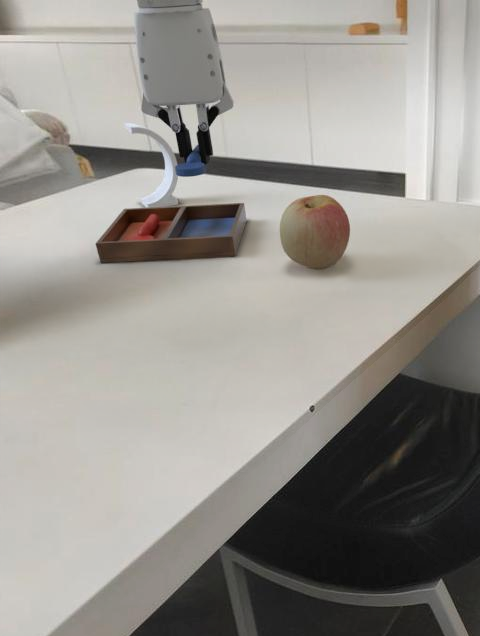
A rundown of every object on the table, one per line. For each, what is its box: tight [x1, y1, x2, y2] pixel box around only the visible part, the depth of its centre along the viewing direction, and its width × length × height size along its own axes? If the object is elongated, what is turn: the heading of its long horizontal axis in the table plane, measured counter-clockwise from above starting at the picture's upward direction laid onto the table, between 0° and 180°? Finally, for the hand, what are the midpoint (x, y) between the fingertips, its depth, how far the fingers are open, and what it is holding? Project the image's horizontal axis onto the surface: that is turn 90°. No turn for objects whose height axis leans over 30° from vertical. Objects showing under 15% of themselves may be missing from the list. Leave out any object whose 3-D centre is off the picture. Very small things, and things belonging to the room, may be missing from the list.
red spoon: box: [126, 214, 160, 241], centre depth 96 cm, size 4×12×2 cm, turn 2°
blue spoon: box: [175, 144, 207, 178], centre depth 91 cm, size 4×12×2 cm, turn 2°
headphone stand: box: [123, 122, 180, 208], centre depth 110 cm, size 5×6×12 cm
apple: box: [279, 194, 351, 270], centre depth 85 cm, size 9×9×8 cm
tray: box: [95, 202, 247, 264], centre depth 97 cm, size 18×16×3 cm
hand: (197, 161), depth 93 cm, fingers closed on blue spoon, 1 cm apart
